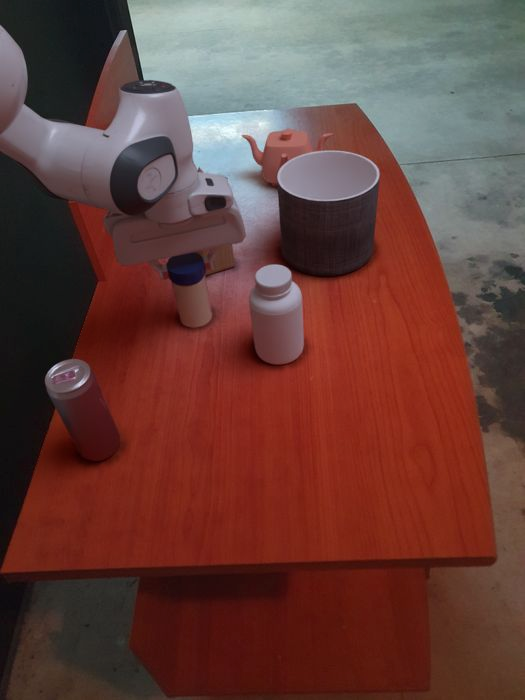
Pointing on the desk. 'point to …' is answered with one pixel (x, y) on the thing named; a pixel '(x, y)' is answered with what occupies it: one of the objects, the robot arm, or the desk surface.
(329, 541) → the desk surface
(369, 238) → the planter
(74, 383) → the beverage can
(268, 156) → the teapot
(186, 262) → the jar lid
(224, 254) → the decorative item
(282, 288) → the pill bottle
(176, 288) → the jar
